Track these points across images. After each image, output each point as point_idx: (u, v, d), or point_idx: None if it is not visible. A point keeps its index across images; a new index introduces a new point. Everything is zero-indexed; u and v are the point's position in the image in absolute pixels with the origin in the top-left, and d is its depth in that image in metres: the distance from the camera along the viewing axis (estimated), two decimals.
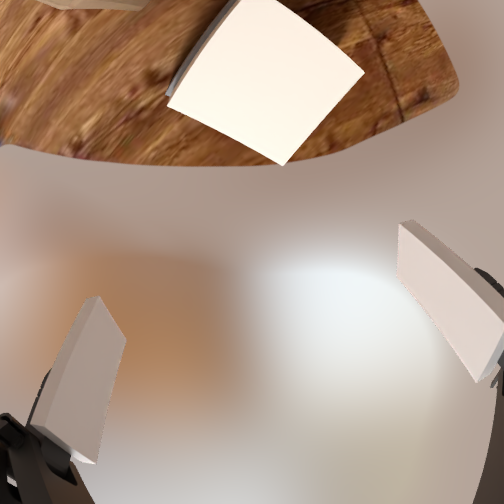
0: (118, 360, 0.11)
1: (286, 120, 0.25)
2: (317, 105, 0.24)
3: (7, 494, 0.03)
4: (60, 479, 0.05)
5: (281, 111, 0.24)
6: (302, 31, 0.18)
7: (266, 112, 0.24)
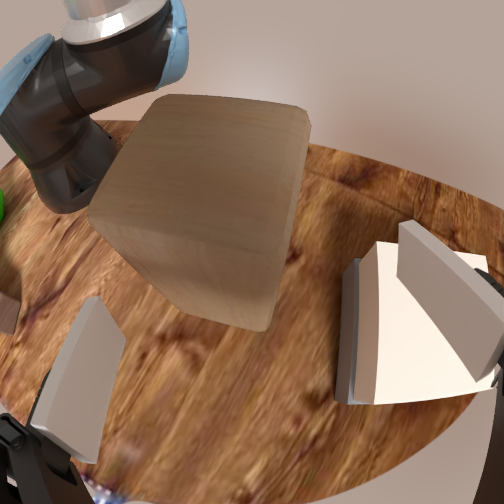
0: (118, 360, 0.11)
1: None
2: None
3: (7, 494, 0.03)
4: (60, 479, 0.05)
5: None
6: None
7: None
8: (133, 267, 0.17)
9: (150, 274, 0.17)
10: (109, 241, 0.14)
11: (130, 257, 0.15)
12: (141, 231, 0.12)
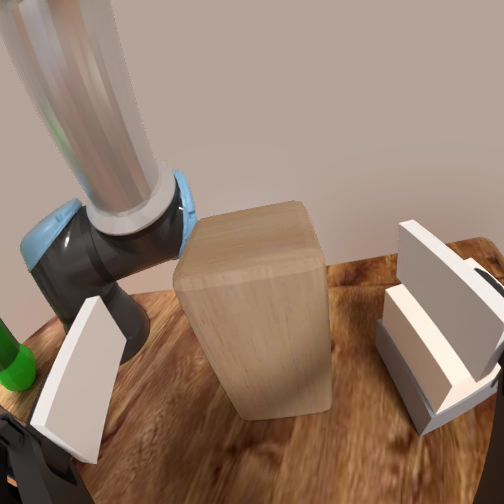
0: (118, 360, 0.11)
1: None
2: None
3: (7, 494, 0.03)
4: (60, 479, 0.05)
5: None
6: None
7: None
8: (207, 343, 0.20)
9: (222, 346, 0.20)
10: (191, 303, 0.18)
11: (207, 323, 0.19)
12: (223, 274, 0.17)
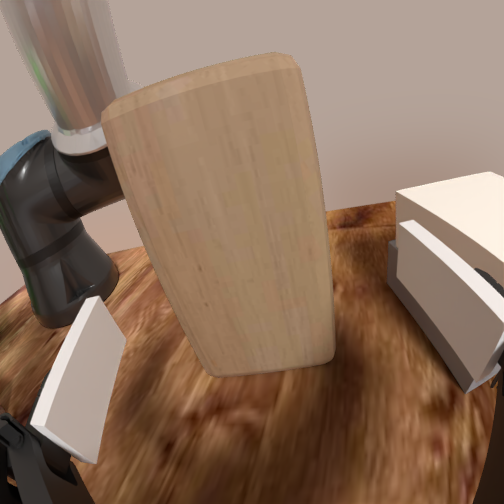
0: (118, 360, 0.11)
1: None
2: None
3: (7, 494, 0.03)
4: (60, 479, 0.05)
5: None
6: (452, 183, 0.20)
7: None
8: (140, 211, 0.14)
9: (162, 217, 0.14)
10: (119, 138, 0.12)
11: (139, 170, 0.13)
12: (161, 87, 0.11)
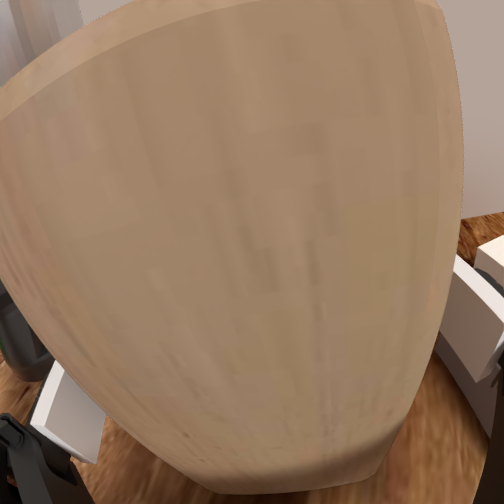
0: None
1: None
2: None
3: (7, 494, 0.03)
4: (60, 479, 0.05)
5: None
6: None
7: None
8: (55, 353, 0.05)
9: (96, 370, 0.06)
10: None
11: (25, 283, 0.04)
12: (38, 60, 0.03)
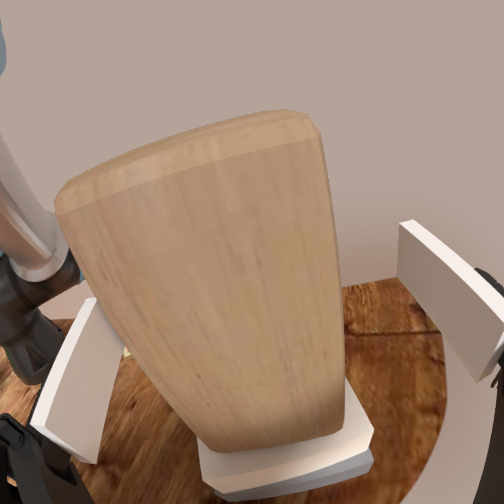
0: (118, 360, 0.11)
1: None
2: None
3: (7, 494, 0.03)
4: (60, 479, 0.05)
5: None
6: None
7: None
8: (120, 323, 0.11)
9: (148, 330, 0.11)
10: (80, 239, 0.09)
11: (112, 279, 0.10)
12: (127, 168, 0.08)
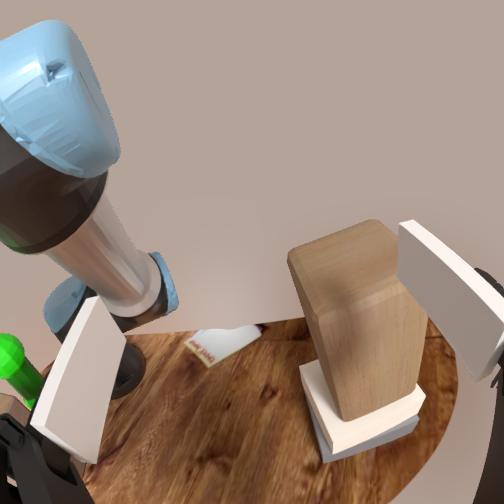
0: (118, 360, 0.11)
1: None
2: None
3: (7, 494, 0.03)
4: (60, 479, 0.05)
5: None
6: None
7: None
8: (338, 362, 0.21)
9: (351, 361, 0.21)
10: (334, 332, 0.19)
11: (343, 345, 0.20)
12: (364, 300, 0.19)
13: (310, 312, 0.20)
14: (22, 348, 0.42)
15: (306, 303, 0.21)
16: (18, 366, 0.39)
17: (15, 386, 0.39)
